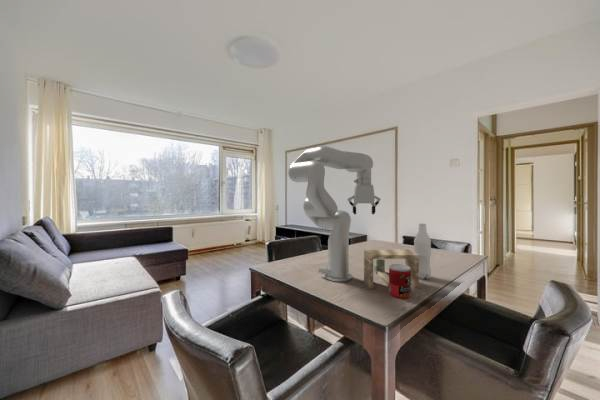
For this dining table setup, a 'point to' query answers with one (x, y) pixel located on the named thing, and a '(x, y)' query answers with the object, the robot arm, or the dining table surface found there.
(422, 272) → the water bottle
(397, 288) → the canned food
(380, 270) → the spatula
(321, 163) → the robot arm
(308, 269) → the dining table surface
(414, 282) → the oak shelf
